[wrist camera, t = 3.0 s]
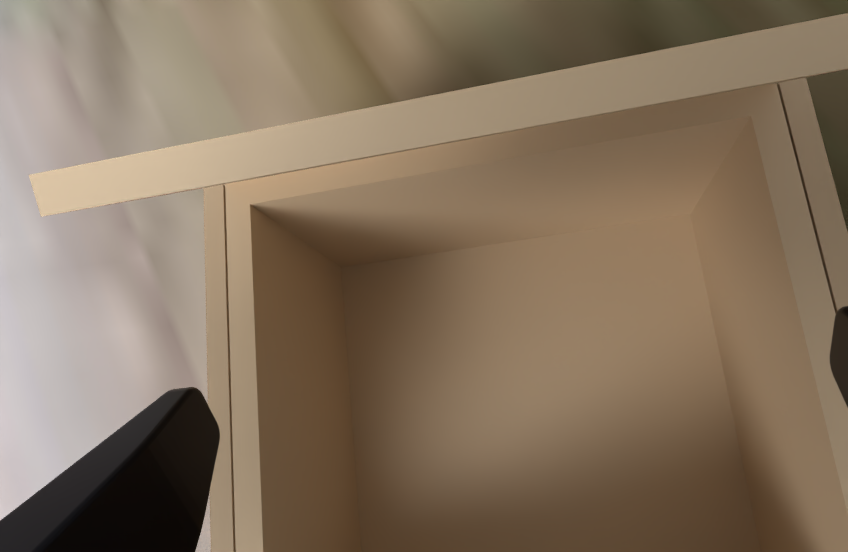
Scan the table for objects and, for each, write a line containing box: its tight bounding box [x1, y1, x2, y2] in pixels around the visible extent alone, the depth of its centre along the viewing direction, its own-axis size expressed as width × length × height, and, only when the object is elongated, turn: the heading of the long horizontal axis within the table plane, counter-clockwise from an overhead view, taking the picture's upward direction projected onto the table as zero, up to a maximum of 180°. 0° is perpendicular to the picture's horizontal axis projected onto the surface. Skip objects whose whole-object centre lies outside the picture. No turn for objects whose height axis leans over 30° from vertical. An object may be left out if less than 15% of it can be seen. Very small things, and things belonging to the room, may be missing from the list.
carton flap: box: [29, 13, 848, 217], centre depth 11 cm, size 6×12×1 cm
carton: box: [204, 78, 848, 552], centre depth 16 cm, size 13×13×7 cm
